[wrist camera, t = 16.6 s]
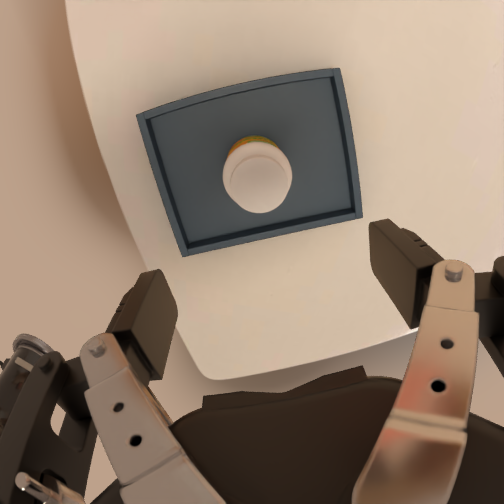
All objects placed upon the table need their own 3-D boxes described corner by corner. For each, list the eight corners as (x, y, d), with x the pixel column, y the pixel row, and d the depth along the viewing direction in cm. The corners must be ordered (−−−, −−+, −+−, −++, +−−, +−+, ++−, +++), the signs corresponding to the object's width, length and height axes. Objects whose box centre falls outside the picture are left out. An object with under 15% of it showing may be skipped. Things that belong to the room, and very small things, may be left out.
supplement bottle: (275, 129, 27) (290, 139, 19) (286, 180, 30) (305, 213, 21) (221, 142, 28) (210, 158, 19) (234, 193, 30) (231, 230, 21)
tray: (185, 248, 34) (182, 257, 32) (142, 114, 26) (135, 115, 25) (356, 211, 32) (363, 217, 30) (333, 69, 25) (340, 67, 23)
